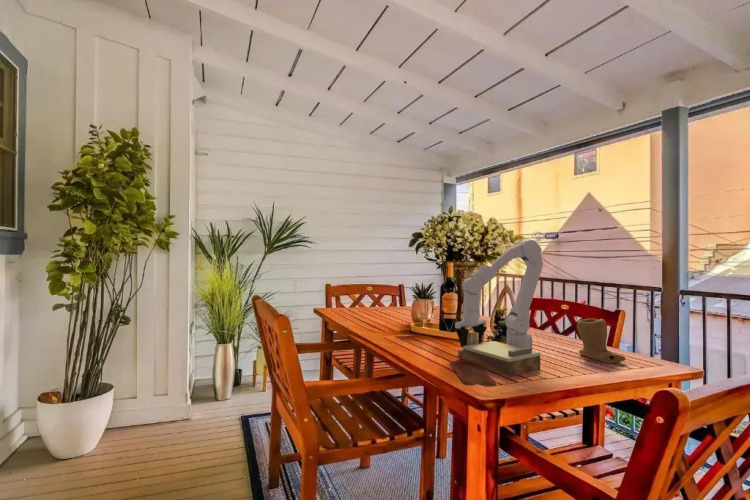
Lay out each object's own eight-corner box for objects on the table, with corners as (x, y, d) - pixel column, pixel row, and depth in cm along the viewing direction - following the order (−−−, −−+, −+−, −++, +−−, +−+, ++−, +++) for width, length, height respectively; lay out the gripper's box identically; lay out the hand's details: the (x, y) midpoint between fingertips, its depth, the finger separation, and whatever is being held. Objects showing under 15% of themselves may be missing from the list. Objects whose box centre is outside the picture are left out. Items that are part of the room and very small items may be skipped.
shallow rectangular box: (478, 351, 160) (478, 340, 160) (540, 369, 137) (540, 355, 137) (448, 357, 151) (449, 344, 151) (509, 376, 128) (509, 362, 128)
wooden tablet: (497, 387, 120) (498, 382, 120) (464, 387, 119) (464, 381, 119) (475, 362, 146) (475, 357, 146) (447, 362, 146) (447, 357, 146)
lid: (493, 343, 154) (493, 336, 154) (540, 355, 137) (540, 347, 137) (463, 348, 145) (463, 341, 145) (509, 362, 128) (509, 353, 128)
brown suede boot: (569, 354, 158) (570, 315, 158) (597, 353, 159) (598, 315, 159) (596, 365, 143) (596, 322, 143) (626, 364, 144) (627, 322, 144)
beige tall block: (470, 354, 156) (470, 330, 156) (478, 356, 152) (478, 332, 152) (462, 355, 153) (463, 331, 153) (470, 358, 150) (471, 333, 150)
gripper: (476, 307, 160) (476, 341, 160) (449, 309, 152) (448, 345, 152) (490, 309, 154) (490, 345, 154) (463, 312, 146) (462, 349, 146)
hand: (470, 345), depth 153 cm, fingers open, 7 cm apart
